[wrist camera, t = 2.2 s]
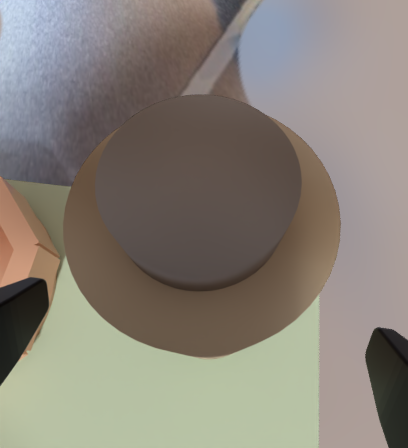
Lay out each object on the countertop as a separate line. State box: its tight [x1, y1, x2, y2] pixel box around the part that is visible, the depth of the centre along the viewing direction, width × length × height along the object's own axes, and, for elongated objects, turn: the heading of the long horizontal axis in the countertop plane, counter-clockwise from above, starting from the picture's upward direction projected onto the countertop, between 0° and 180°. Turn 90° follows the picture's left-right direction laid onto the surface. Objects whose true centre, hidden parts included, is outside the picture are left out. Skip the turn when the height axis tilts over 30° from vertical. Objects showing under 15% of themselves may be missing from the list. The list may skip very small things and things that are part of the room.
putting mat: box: [0, 179, 319, 448], centre depth 18 cm, size 19×28×1 cm
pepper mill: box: [63, 95, 341, 360], centre depth 11 cm, size 5×5×14 cm
